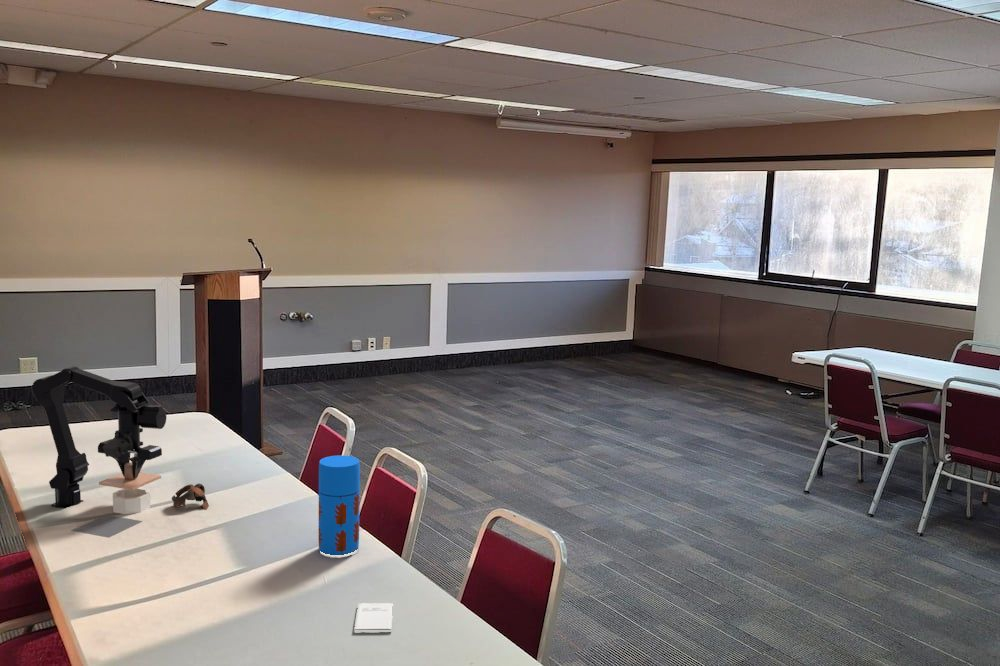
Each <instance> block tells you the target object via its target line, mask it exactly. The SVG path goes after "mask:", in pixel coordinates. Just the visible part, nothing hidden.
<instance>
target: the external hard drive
mask: <svg viewBox="0 0 1000 666" xmlns="http://www.w3.org/2000/svg"><path fill="white" fill-rule="evenodd" d="M392 606H393V607H394V603H392V602H376V603H375V602H362V603H361V602H360V603H358V604H357V608H358V609H357V608H356V609H357V610H356V614H355V621H354V626H355V627H353V631H354V630H391V629H392V630H393V627H392V626H393V616H392Z"/></svg>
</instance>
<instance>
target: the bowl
mask: <svg viewBox="0 0 1000 666" xmlns="http://www.w3.org/2000/svg"><path fill="white" fill-rule="evenodd" d="M150 492H151V491H150V489H148V488H144V487H139V488H137V489H134V490H128V489H122V488H121V489H120V490H117V491H115V492H112V509H113V511H112V512H113V513H117V514H122V515H129V514H131V515H132V514H138V513H139V514H140V513H142V512H145V511H146V510H147V511H148V509H151V493H150Z"/></svg>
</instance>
